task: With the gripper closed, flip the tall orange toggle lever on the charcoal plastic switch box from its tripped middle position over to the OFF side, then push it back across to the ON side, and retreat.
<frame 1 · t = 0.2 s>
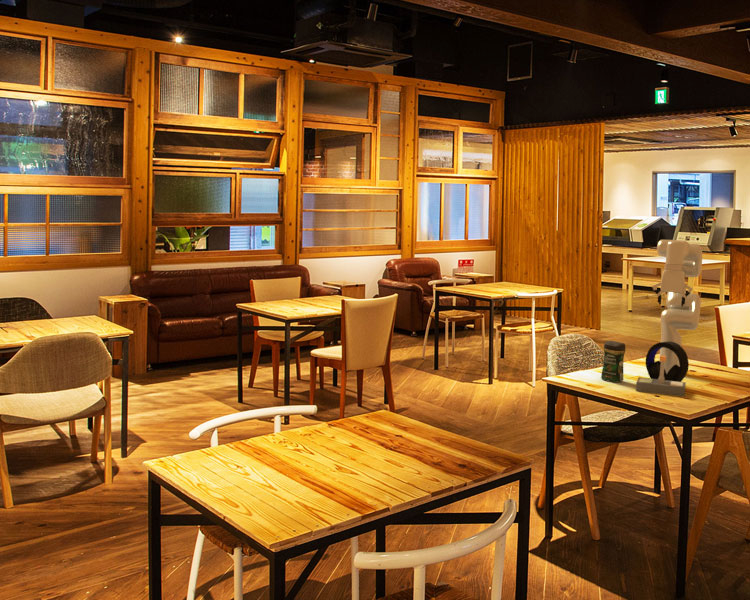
hand: (670, 305, 357), 37 cm above the table, tool pointing down, fingers open, 9 cm apart
headphones: (664, 385, 357), on the table
switch box: (660, 391, 345), on the table
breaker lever: (662, 368, 343), point 10 cm above the table, hinge at 0.0°
coffee jar: (612, 380, 363), on the table
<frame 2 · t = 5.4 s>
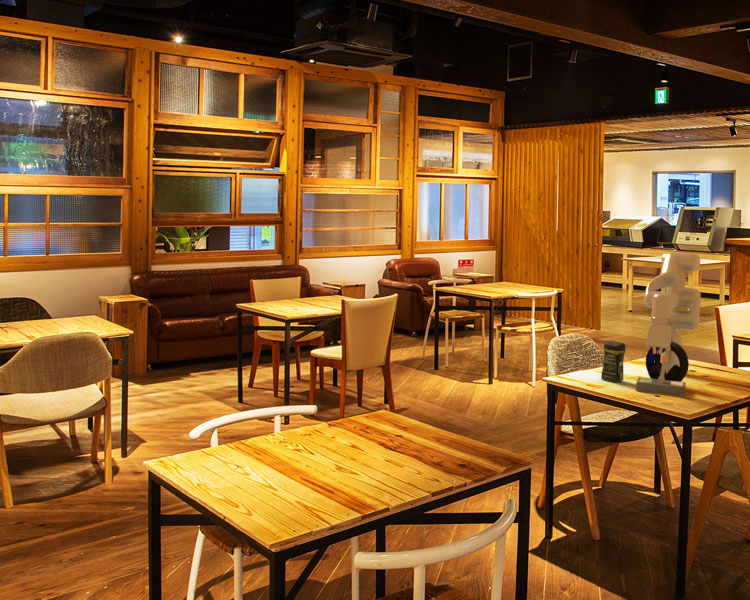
hand: (656, 362, 344), 13 cm above the table, tool pointing down, fingers closed
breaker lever: (663, 369, 343), point 10 cm above the table, hinge at -5.2°, touching gripper
everything else where it was.
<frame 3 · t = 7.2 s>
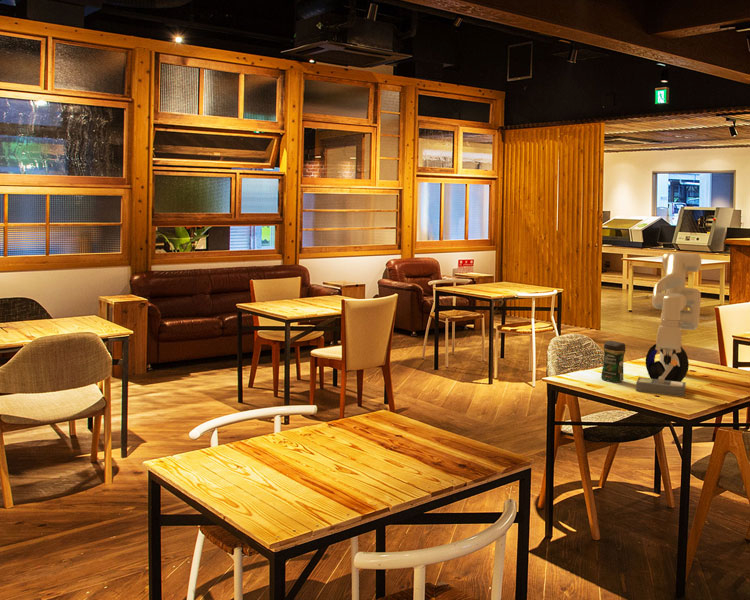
hand: (666, 364, 343), 12 cm above the table, tool pointing down, fingers closed
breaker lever: (667, 370, 343), point 9 cm above the table, hinge at -29.5°, touching gripper
everything else where it was.
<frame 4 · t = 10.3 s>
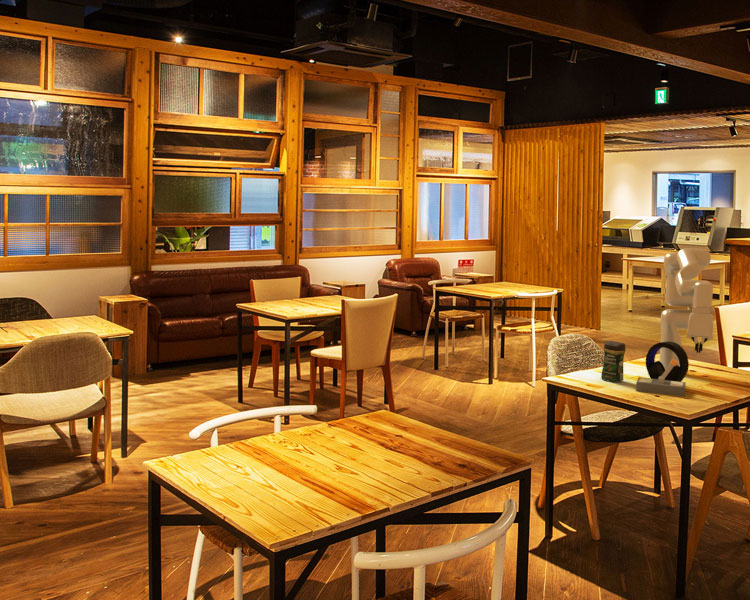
hand: (698, 352, 336), 19 cm above the table, tool pointing down, fingers closed
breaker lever: (667, 370, 343), point 9 cm above the table, hinge at -29.5°
everything else where it was.
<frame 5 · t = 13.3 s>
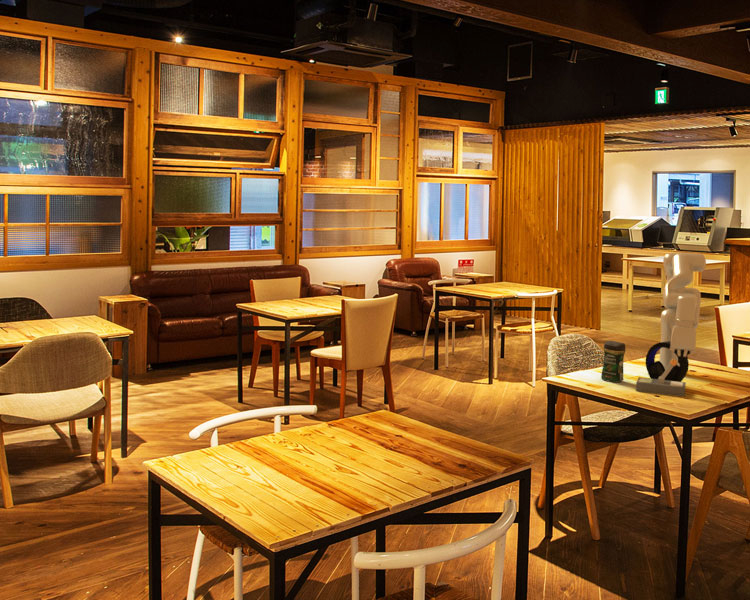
hand: (681, 364, 340), 13 cm above the table, tool pointing down, fingers closed
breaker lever: (667, 370, 343), point 9 cm above the table, hinge at -28.7°, touching gripper
everything else where it was.
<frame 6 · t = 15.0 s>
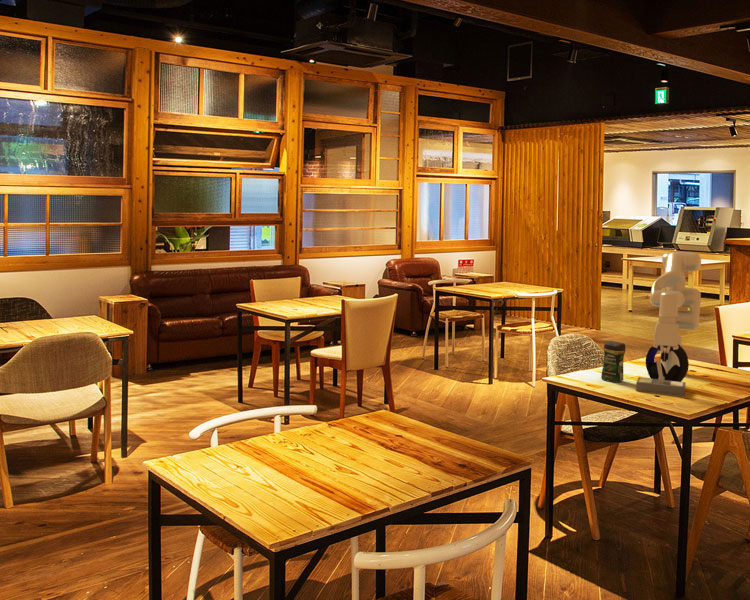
hand: (664, 361, 342), 14 cm above the table, tool pointing down, fingers closed
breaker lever: (659, 368, 344), point 10 cm above the table, hinge at 13.0°, touching gripper
everything else where it was.
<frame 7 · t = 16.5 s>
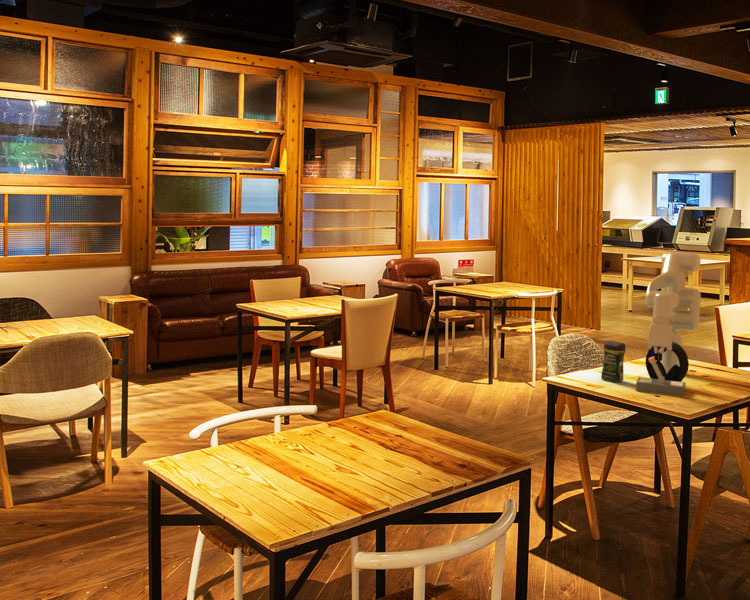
hand: (658, 361, 343), 13 cm above the table, tool pointing down, fingers closed
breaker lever: (656, 369, 344), point 9 cm above the table, hinge at 28.2°, touching gripper
everything else where it was.
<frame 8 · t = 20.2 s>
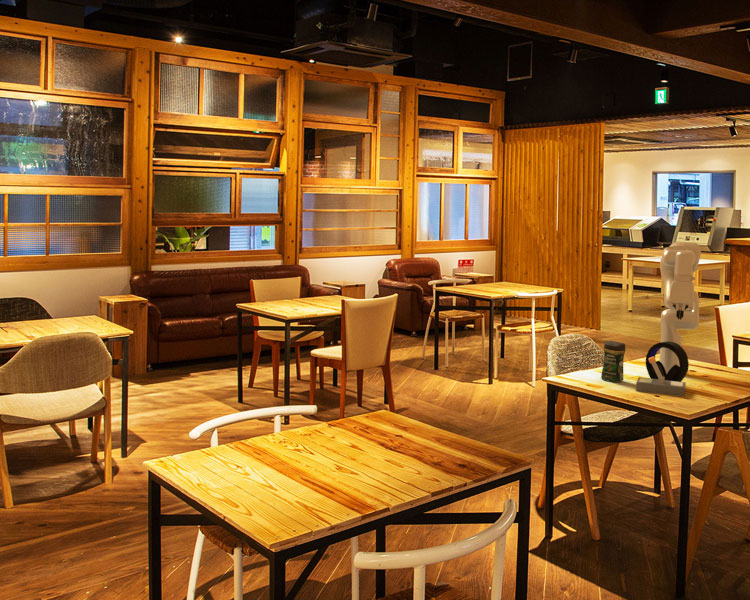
hand: (679, 319, 351), 31 cm above the table, tool pointing down, fingers closed
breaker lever: (656, 369, 344), point 9 cm above the table, hinge at 28.4°
everything else where it was.
at the end: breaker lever at +28° (first picture: +0°); coffee jar moved 0.2 cm from its start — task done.
